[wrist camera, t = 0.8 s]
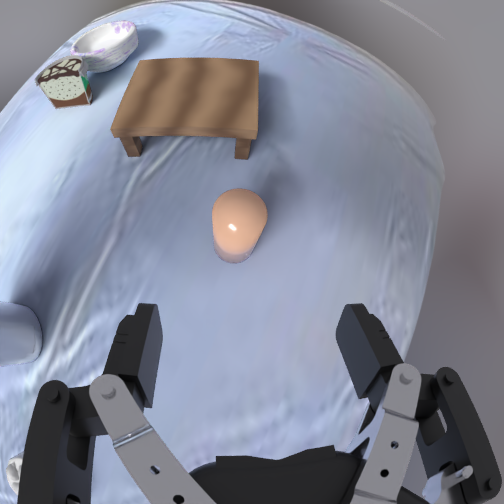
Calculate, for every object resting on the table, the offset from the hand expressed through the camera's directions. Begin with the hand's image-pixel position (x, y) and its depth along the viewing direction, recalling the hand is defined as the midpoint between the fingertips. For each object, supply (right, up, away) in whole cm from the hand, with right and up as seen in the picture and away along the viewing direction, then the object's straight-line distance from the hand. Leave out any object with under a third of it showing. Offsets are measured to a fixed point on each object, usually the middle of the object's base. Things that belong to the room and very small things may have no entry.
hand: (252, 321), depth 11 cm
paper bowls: (-32, +46, +33) cm, 66 cm away
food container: (-36, +35, +30) cm, 58 cm away
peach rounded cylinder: (-3, +4, +26) cm, 27 cm away
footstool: (-10, +25, +30) cm, 40 cm away
